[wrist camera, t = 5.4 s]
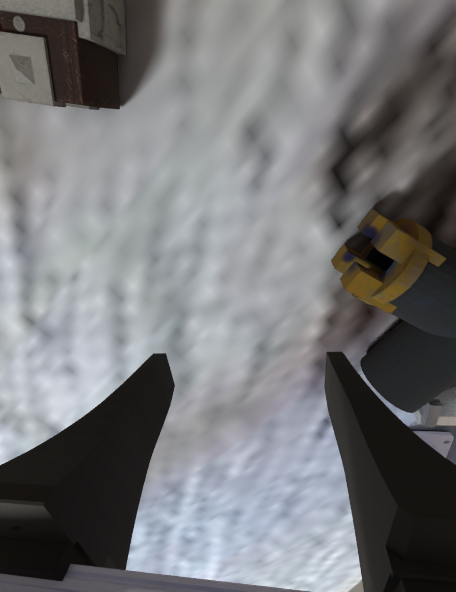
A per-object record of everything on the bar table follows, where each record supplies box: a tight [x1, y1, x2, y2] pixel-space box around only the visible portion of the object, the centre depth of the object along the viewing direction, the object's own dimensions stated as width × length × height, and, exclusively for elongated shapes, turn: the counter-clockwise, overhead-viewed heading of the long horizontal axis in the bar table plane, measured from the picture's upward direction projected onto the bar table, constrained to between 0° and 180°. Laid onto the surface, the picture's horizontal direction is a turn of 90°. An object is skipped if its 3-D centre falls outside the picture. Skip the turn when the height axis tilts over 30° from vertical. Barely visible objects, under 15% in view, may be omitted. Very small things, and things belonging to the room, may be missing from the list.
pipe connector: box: [331, 209, 456, 413], centre depth 19 cm, size 12×5×15 cm
